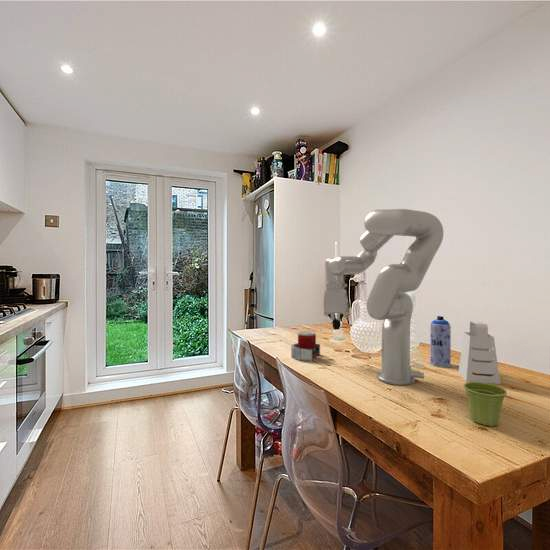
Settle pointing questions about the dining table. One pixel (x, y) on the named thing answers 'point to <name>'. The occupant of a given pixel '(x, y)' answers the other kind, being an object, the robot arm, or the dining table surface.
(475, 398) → the plant pot
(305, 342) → the canned food
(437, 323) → the aerosol can
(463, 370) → the grater
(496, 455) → the dining table surface
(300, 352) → the duct collar
